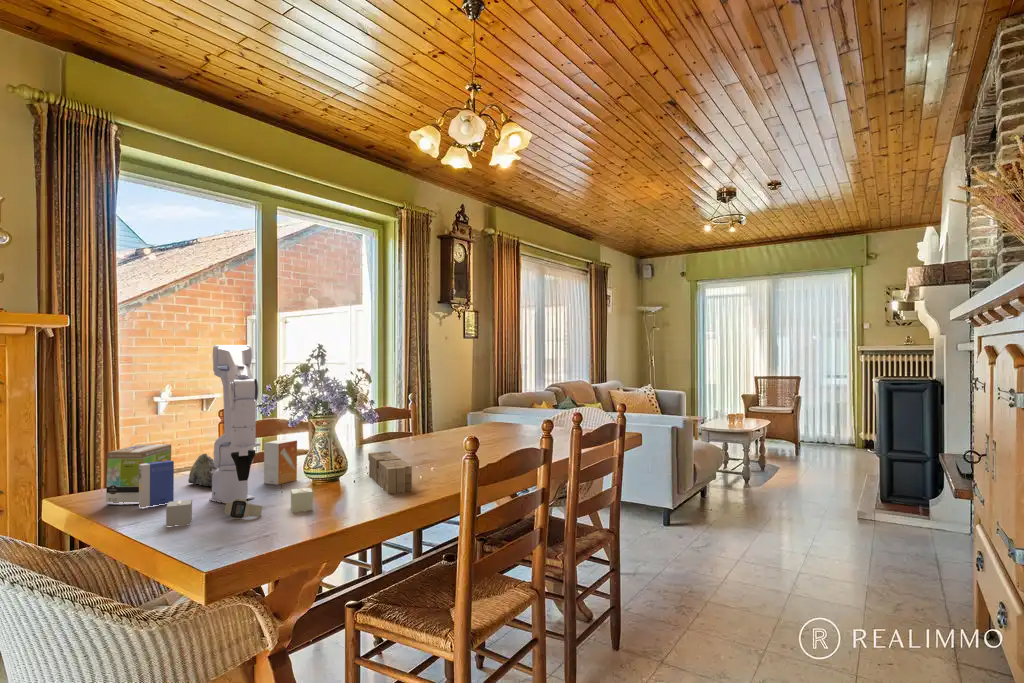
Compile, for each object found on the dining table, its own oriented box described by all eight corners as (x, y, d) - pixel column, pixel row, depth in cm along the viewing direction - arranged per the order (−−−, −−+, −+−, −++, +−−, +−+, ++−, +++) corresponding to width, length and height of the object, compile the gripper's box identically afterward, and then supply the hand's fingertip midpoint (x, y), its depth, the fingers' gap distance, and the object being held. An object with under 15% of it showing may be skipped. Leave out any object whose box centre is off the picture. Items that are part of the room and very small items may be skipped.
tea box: (143, 505, 156) (144, 451, 157) (104, 506, 156) (105, 451, 156) (171, 492, 171) (172, 442, 172) (136, 493, 170) (136, 443, 171)
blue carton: (169, 502, 160) (170, 458, 160) (173, 503, 158) (173, 460, 158) (137, 507, 154) (137, 463, 154) (140, 509, 152) (141, 464, 152)
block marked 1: (168, 522, 140) (168, 501, 140) (191, 519, 142) (192, 498, 143) (166, 527, 136) (166, 505, 136) (190, 525, 138) (190, 503, 138)
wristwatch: (219, 520, 142) (219, 499, 142) (232, 513, 148) (232, 493, 149) (255, 520, 142) (255, 500, 142) (267, 513, 148) (267, 493, 148)
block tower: (413, 495, 170) (391, 473, 197) (413, 466, 170) (391, 449, 197) (386, 497, 167) (367, 475, 193) (387, 469, 167) (368, 450, 193)
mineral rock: (221, 489, 175) (221, 456, 175) (181, 492, 171) (181, 458, 172) (227, 480, 187) (227, 449, 187) (189, 483, 184) (190, 451, 184)
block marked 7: (290, 508, 152) (290, 488, 153) (310, 506, 155) (310, 486, 155) (292, 513, 148) (292, 492, 148) (312, 510, 150) (312, 490, 150)
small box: (278, 485, 180) (278, 443, 180) (263, 483, 182) (263, 442, 182) (297, 480, 187) (297, 439, 187) (282, 478, 189) (282, 438, 190)
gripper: (261, 428, 141) (261, 484, 141) (259, 422, 154) (259, 473, 154) (229, 430, 138) (229, 487, 138) (230, 424, 151) (230, 476, 151)
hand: (243, 480), depth 145 cm, fingers closed
